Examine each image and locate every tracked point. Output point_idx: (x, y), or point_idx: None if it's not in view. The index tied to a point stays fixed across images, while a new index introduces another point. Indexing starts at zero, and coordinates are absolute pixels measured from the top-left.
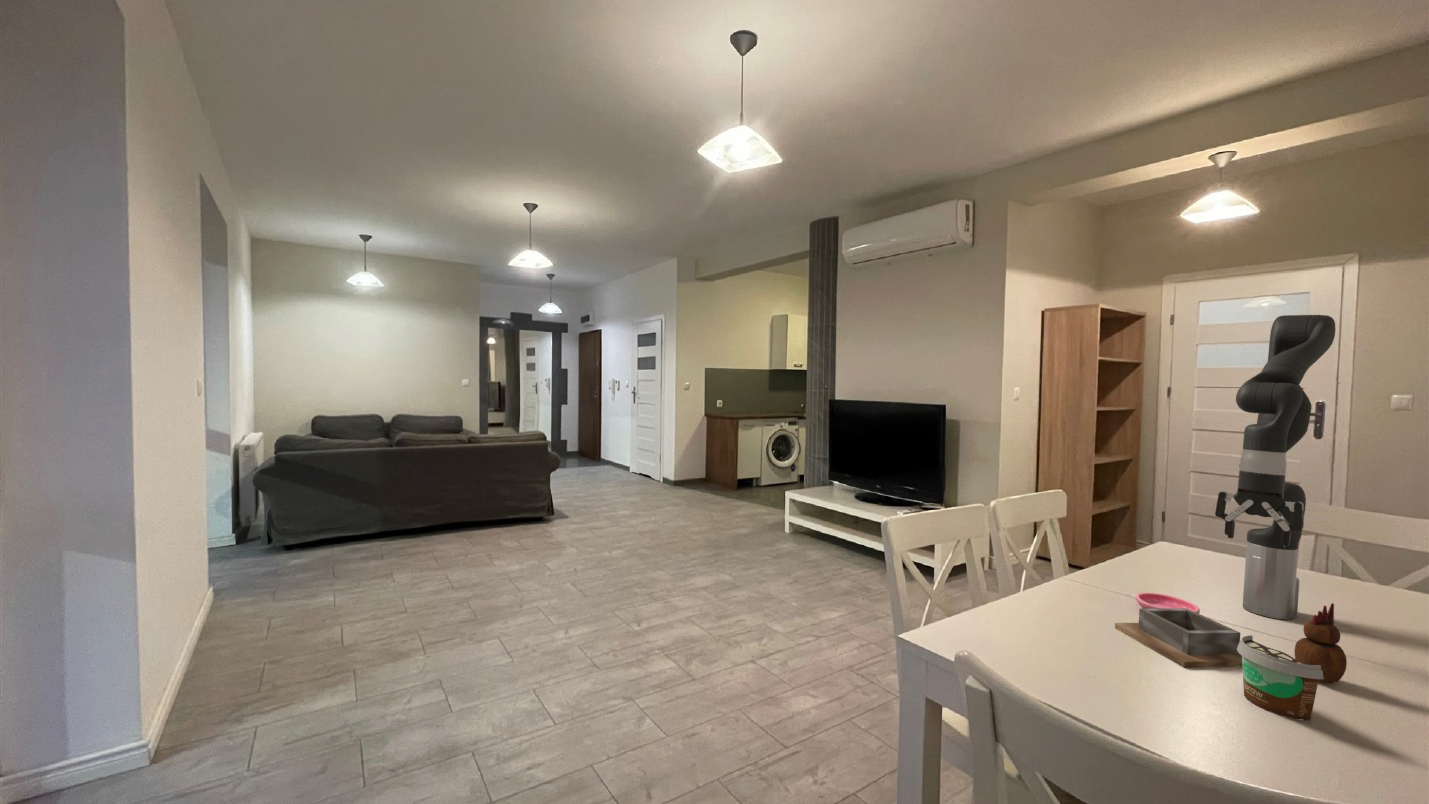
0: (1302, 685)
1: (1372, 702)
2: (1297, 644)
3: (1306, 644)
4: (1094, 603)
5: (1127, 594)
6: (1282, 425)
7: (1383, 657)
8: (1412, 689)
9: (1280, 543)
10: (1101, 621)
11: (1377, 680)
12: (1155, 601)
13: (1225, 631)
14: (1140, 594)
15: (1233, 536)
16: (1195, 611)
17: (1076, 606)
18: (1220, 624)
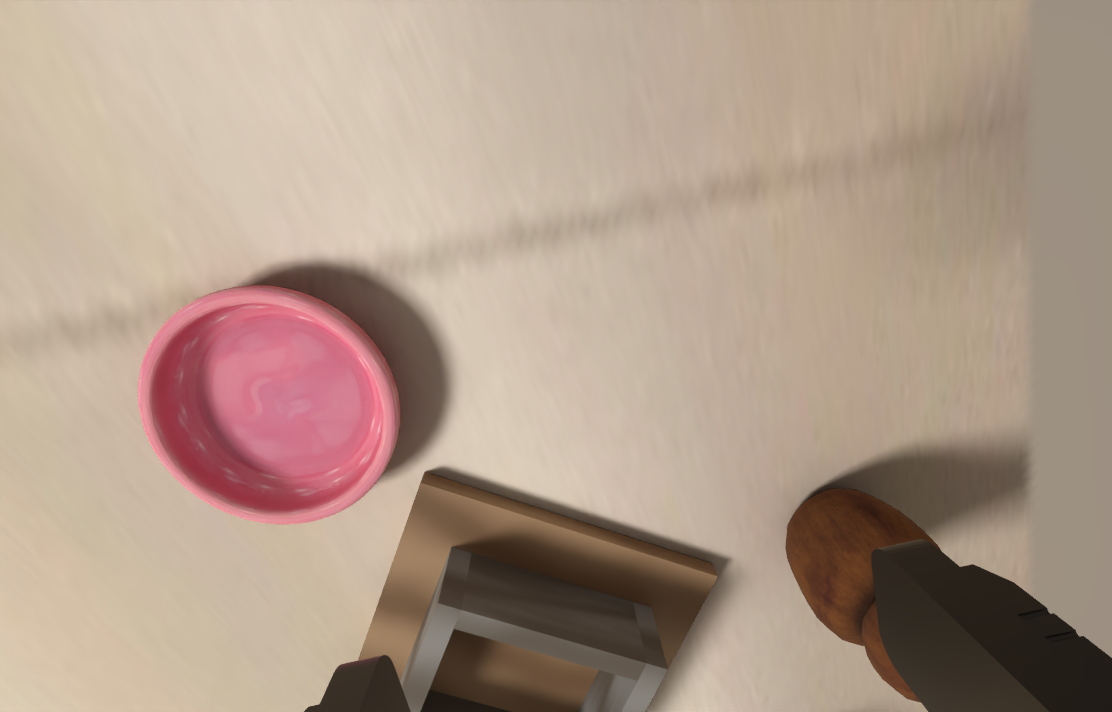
0: None
1: (944, 544)
2: (826, 626)
3: (860, 644)
4: (129, 567)
5: (53, 315)
6: None
7: (929, 27)
8: (1017, 320)
9: (924, 691)
10: (284, 696)
11: (938, 347)
12: (195, 347)
13: (636, 704)
14: (156, 433)
15: (386, 675)
16: (392, 415)
17: (143, 656)
18: (594, 654)
